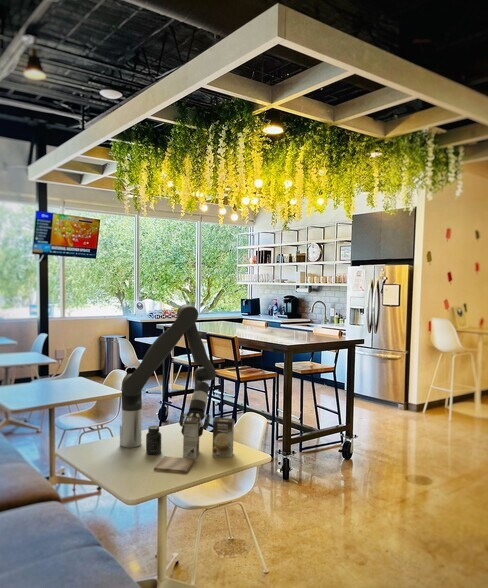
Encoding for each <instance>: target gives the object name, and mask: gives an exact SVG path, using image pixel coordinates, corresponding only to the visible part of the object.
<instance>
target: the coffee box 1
mask: <svg viewBox="0 0 488 588" xmlns="http://www.w3.org/2000/svg"><path fill="white" fill-rule="evenodd" d="M199 421H200V417H193V416H186V417H185V418H184V421H183V423H184V435H183V438H182V440H183V442H182V443H183V444H182V445H183V446H182V458H192V459H198V456H199V452H200V437H199V435H198V433H199V429H200V427H201V426H200V424H199Z"/></svg>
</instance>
